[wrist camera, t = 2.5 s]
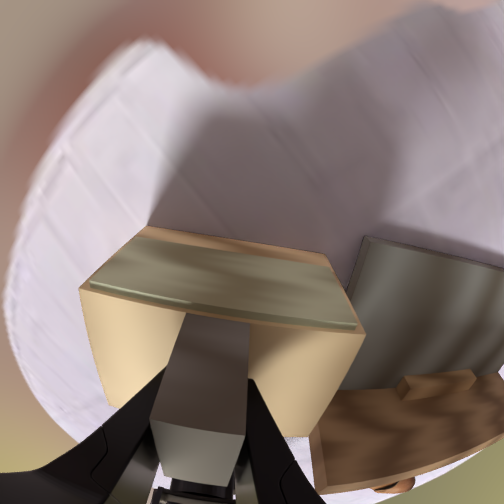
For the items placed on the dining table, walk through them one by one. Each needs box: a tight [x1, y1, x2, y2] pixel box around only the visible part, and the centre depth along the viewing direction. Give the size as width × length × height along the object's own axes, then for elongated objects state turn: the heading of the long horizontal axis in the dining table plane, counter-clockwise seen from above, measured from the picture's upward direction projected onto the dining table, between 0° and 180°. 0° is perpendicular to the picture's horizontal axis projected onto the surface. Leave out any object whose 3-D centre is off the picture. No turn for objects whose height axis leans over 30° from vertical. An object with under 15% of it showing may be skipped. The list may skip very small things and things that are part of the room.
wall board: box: [309, 236, 504, 495], centre depth 14 cm, size 24×14×9 cm, turn 81°
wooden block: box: [79, 226, 366, 487], centre depth 11 cm, size 10×7×11 cm
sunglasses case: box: [371, 477, 415, 494], centre depth 30 cm, size 18×7×7 cm
